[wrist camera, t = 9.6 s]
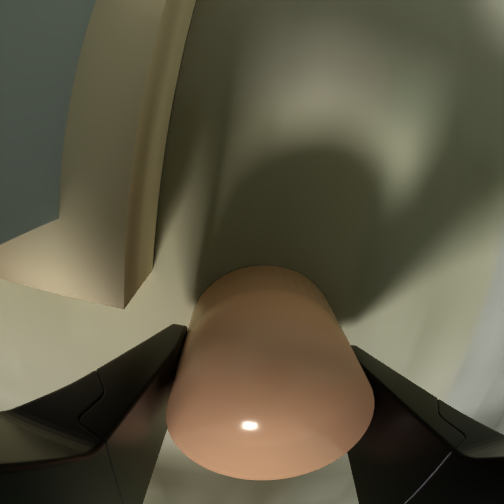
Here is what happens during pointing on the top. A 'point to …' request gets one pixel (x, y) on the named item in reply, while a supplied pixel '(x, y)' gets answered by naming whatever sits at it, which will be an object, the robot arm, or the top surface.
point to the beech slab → (109, 157)
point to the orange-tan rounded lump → (267, 379)
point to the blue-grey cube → (35, 105)
